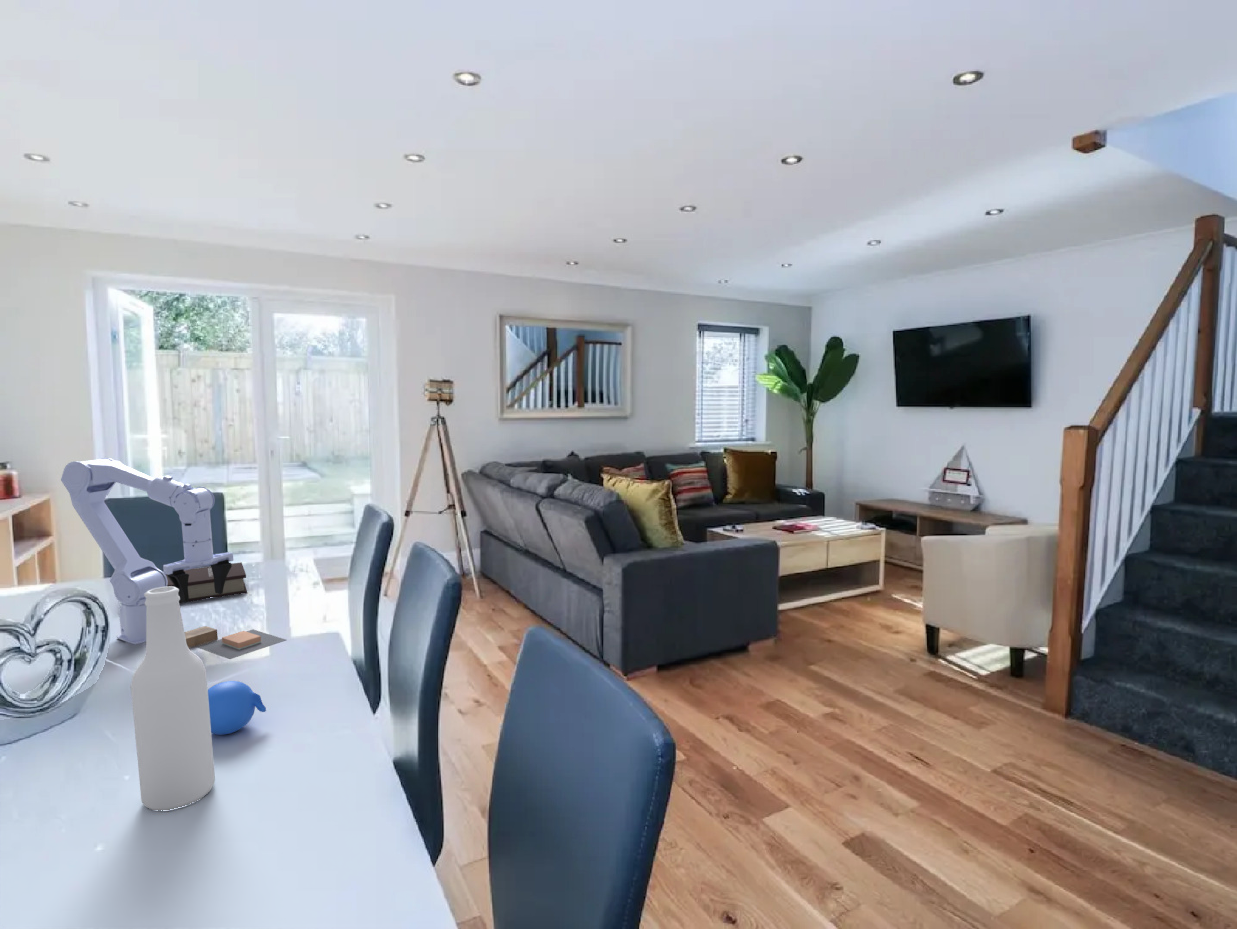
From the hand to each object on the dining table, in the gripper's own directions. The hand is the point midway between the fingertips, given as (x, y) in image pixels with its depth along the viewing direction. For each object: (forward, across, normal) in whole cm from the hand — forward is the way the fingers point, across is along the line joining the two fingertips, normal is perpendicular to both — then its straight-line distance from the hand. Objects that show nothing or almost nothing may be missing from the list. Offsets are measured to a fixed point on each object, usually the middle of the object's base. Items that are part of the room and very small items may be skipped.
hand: (202, 597), depth 158 cm
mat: (+10, +2, -12) cm, 16 cm away
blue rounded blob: (+10, -20, -49) cm, 54 cm away
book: (+10, +17, +43) cm, 47 cm away
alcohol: (+10, -35, -63) cm, 73 cm away
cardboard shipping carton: (+9, -9, -2) cm, 13 cm away
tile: (+9, +2, -8) cm, 12 cm away
